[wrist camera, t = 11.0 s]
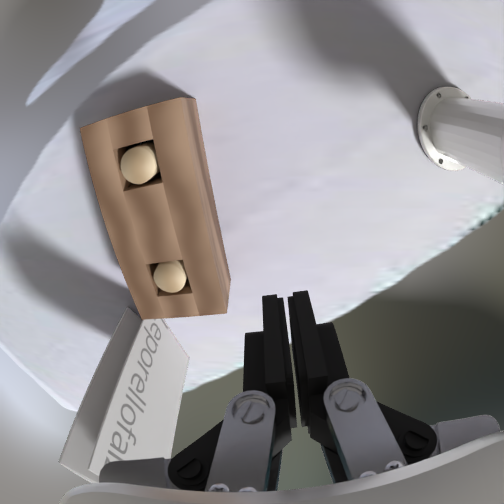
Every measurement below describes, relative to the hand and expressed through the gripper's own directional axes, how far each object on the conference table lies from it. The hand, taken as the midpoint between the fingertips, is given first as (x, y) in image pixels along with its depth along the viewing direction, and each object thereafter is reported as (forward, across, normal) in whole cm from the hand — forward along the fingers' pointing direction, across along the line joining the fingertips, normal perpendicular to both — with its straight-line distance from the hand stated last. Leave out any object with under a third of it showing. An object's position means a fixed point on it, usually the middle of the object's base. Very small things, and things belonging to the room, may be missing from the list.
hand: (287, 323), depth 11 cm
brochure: (+29, +22, +26) cm, 45 cm away
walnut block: (+29, +13, +3) cm, 32 cm away
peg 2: (+29, +13, +10) cm, 33 cm away
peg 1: (+29, +13, -4) cm, 32 cm away
